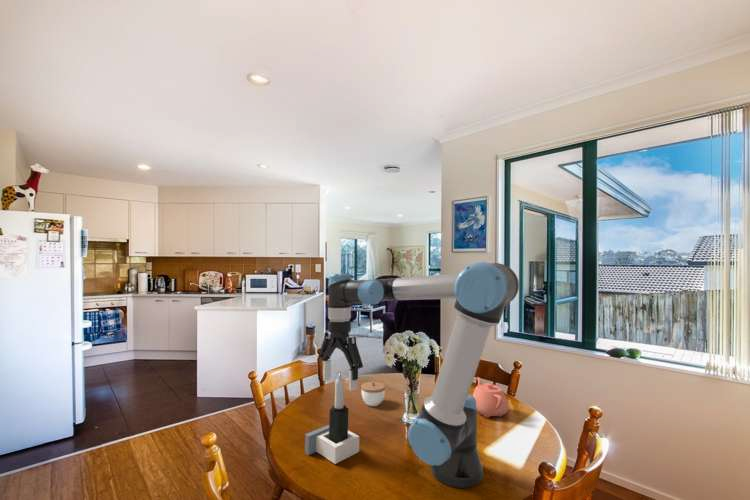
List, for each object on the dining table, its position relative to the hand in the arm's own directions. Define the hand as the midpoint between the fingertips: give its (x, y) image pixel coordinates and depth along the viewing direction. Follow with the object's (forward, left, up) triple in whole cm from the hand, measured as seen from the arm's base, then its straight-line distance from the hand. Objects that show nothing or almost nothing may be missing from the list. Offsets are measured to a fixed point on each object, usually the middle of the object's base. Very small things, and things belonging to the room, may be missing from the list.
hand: (339, 384), depth 113 cm
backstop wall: (+6, 0, -22) cm, 23 cm away
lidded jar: (+20, -36, -22) cm, 47 cm away
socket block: (0, 0, -22) cm, 22 cm away
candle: (0, 0, -21) cm, 21 cm away
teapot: (-20, -65, -22) cm, 71 cm away
